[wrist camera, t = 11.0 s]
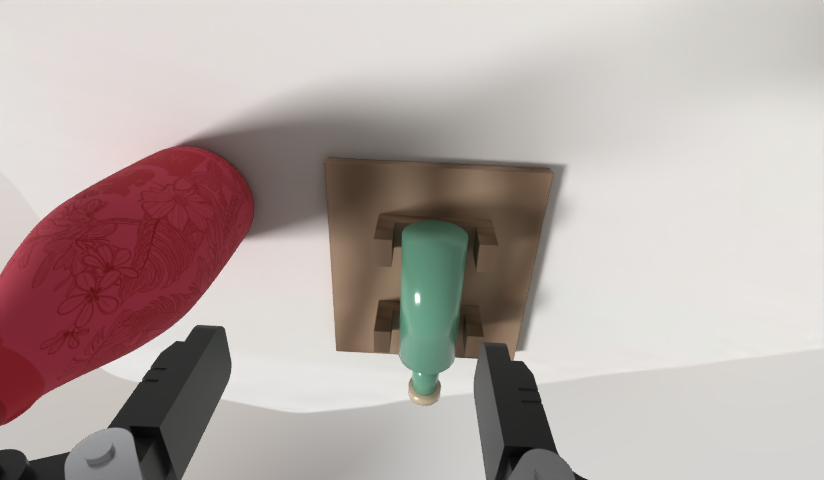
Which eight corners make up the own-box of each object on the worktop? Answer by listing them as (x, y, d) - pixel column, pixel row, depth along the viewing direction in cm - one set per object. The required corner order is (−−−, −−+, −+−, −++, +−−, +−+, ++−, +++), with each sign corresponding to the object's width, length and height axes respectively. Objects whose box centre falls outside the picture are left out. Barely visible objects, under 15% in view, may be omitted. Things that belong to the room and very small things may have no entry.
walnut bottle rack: (338, 342, 45) (327, 384, 40) (327, 157, 35) (312, 182, 30) (511, 352, 45) (521, 394, 40) (549, 168, 35) (568, 195, 30)
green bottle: (402, 219, 35) (401, 250, 30) (464, 221, 35) (472, 253, 30) (398, 372, 43) (397, 414, 39) (448, 373, 43) (452, 415, 39)
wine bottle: (233, 128, 34) (-406, 556, 8) (276, 235, 39) (-36, 726, 13) (122, 152, 35) (-744, 587, 9) (177, 253, 40) (-294, 732, 14)
